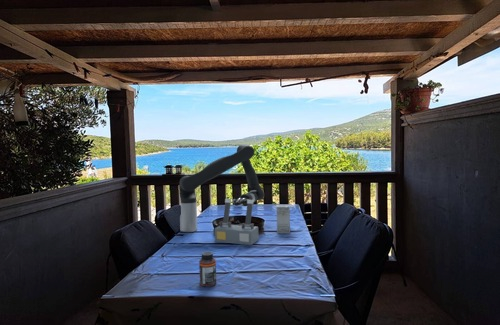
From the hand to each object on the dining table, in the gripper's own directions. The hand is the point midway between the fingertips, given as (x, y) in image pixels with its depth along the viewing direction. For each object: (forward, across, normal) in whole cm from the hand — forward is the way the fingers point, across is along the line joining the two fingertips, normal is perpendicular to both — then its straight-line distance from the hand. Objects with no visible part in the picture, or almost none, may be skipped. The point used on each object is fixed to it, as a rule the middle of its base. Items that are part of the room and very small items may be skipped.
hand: (236, 203), depth 183 cm
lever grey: (+14, +13, +8) cm, 21 cm away
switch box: (+14, +6, +17) cm, 23 cm away
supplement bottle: (+67, +19, +17) cm, 72 cm away
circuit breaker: (-15, +24, +18) cm, 33 cm away
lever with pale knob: (+14, 0, +8) cm, 17 cm away
